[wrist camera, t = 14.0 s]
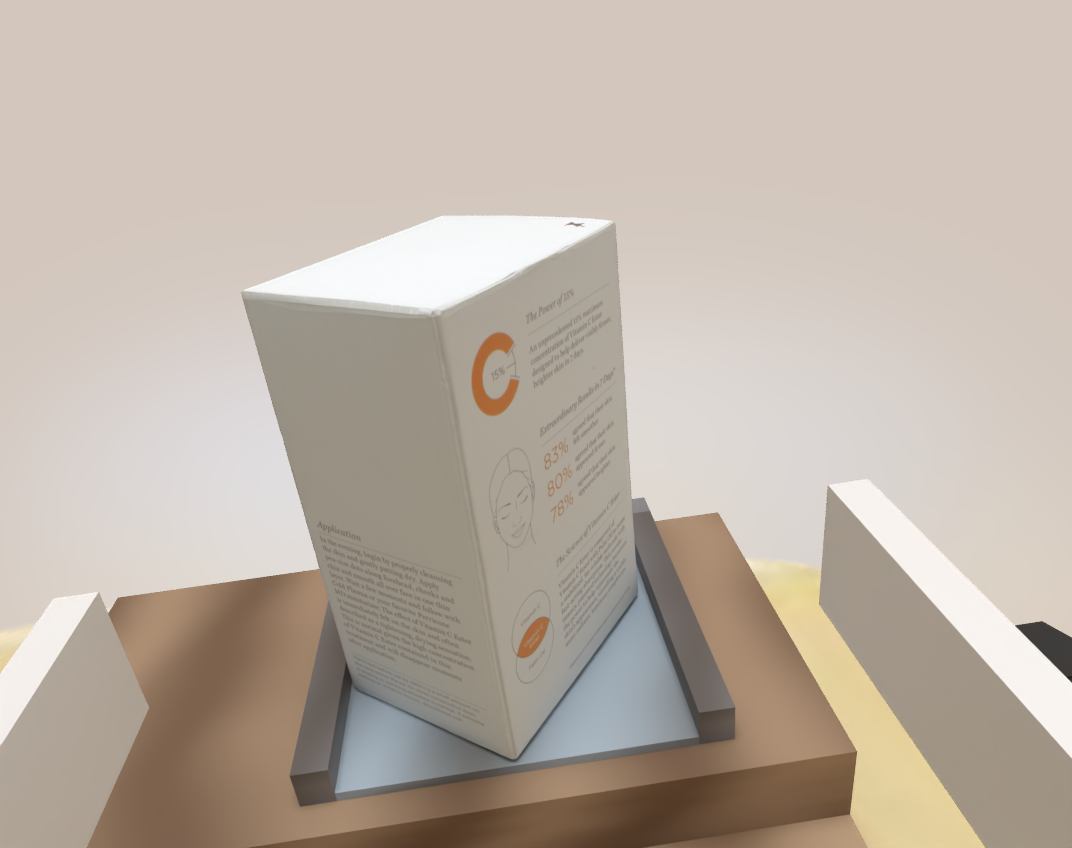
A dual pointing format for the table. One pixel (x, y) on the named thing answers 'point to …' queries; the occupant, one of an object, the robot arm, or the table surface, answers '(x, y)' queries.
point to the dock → (467, 768)
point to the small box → (461, 459)
